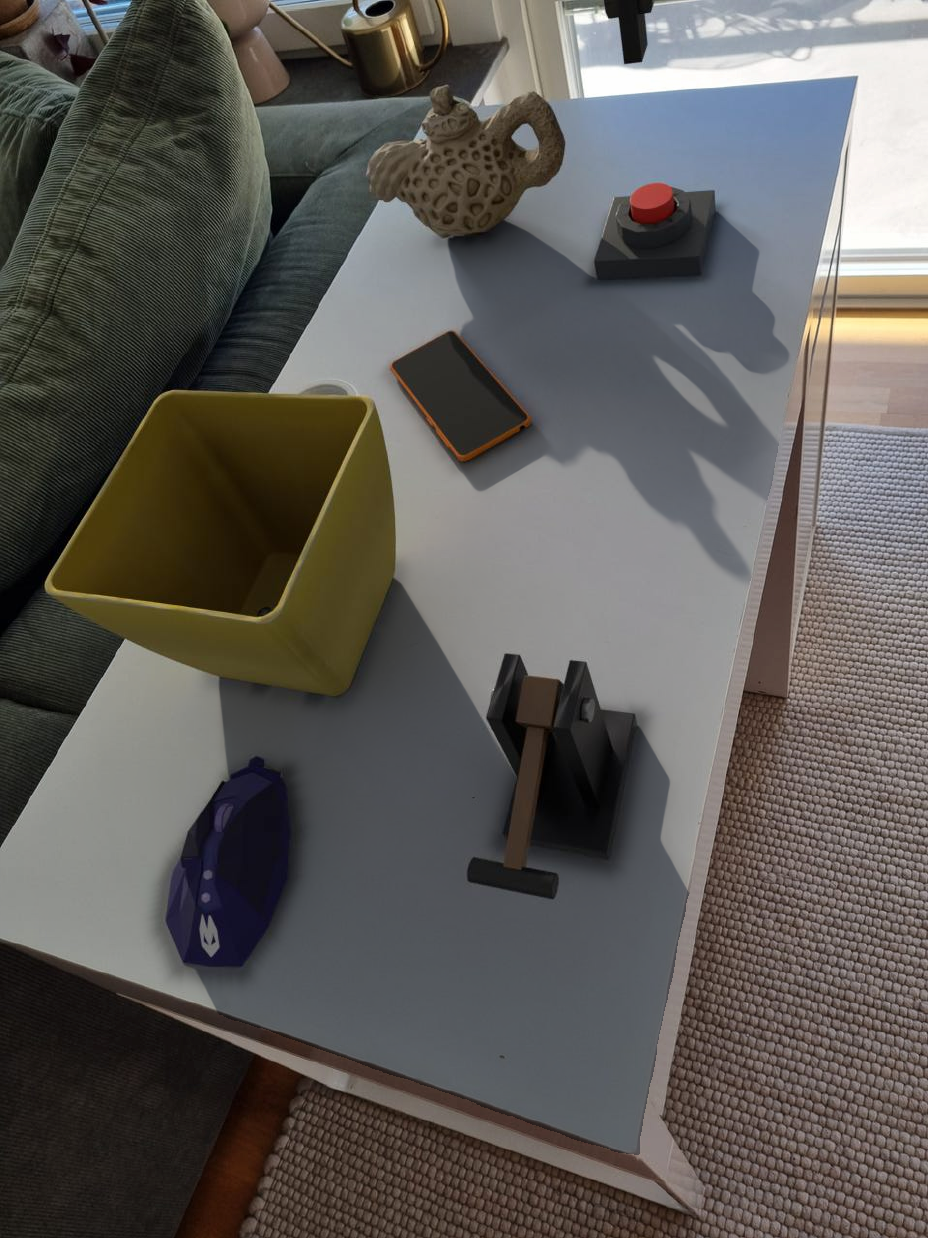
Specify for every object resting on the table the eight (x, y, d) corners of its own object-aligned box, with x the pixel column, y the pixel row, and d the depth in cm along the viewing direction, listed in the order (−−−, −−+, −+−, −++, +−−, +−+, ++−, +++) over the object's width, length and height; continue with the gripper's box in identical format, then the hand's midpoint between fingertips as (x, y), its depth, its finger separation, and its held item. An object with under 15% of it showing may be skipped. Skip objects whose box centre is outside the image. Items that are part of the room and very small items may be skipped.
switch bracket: (609, 860, 60) (577, 779, 50) (506, 840, 63) (455, 760, 53) (637, 721, 65) (613, 622, 55) (540, 709, 68) (500, 611, 57)
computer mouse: (145, 961, 65) (113, 946, 62) (204, 763, 73) (178, 740, 69) (266, 970, 62) (239, 955, 59) (313, 764, 70) (292, 740, 67)
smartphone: (454, 332, 93) (452, 326, 92) (535, 425, 83) (533, 418, 83) (388, 369, 93) (385, 363, 92) (461, 467, 83) (459, 460, 82)
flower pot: (368, 744, 70) (272, 623, 56) (163, 706, 77) (35, 590, 63) (445, 541, 79) (379, 394, 65) (255, 524, 86) (160, 389, 72)
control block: (715, 209, 93) (713, 172, 90) (700, 275, 88) (698, 239, 85) (616, 215, 97) (611, 180, 94) (597, 280, 92) (590, 244, 89)
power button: (677, 197, 90) (676, 180, 89) (670, 223, 88) (669, 207, 87) (636, 200, 92) (634, 184, 90) (628, 226, 90) (626, 210, 88)
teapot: (379, 271, 102) (328, 140, 90) (398, 207, 108) (352, 76, 96) (573, 244, 96) (546, 99, 84) (581, 177, 102) (557, 33, 90)
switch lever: (558, 900, 53) (547, 899, 51) (475, 883, 55) (462, 881, 52) (591, 690, 56) (582, 681, 53) (511, 681, 57) (500, 671, 55)
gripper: (482, -281, 60) (550, 88, 79) (689, -338, 55) (709, 69, 74) (510, -323, 63) (569, 40, 82) (708, -379, 59) (722, 19, 77)
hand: (635, 53), depth 78 cm, fingers closed
